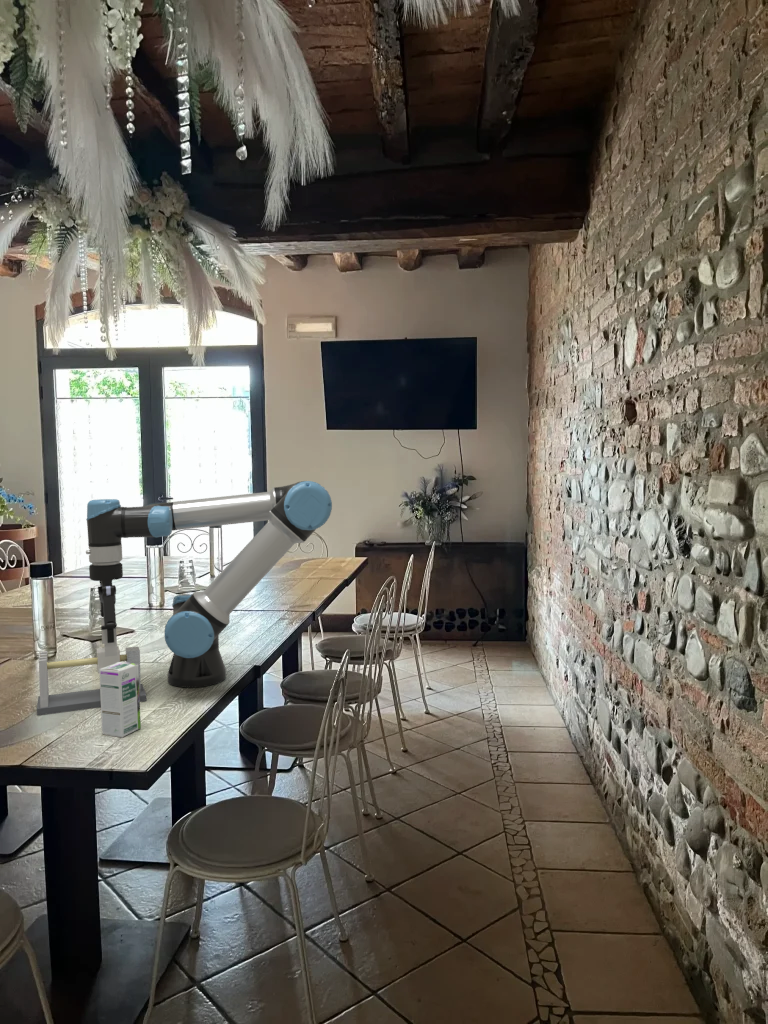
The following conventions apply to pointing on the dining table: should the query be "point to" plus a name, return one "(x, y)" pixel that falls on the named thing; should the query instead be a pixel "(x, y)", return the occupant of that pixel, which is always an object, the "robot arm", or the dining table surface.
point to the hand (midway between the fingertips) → (109, 649)
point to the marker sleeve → (106, 658)
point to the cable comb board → (80, 698)
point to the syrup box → (120, 699)
